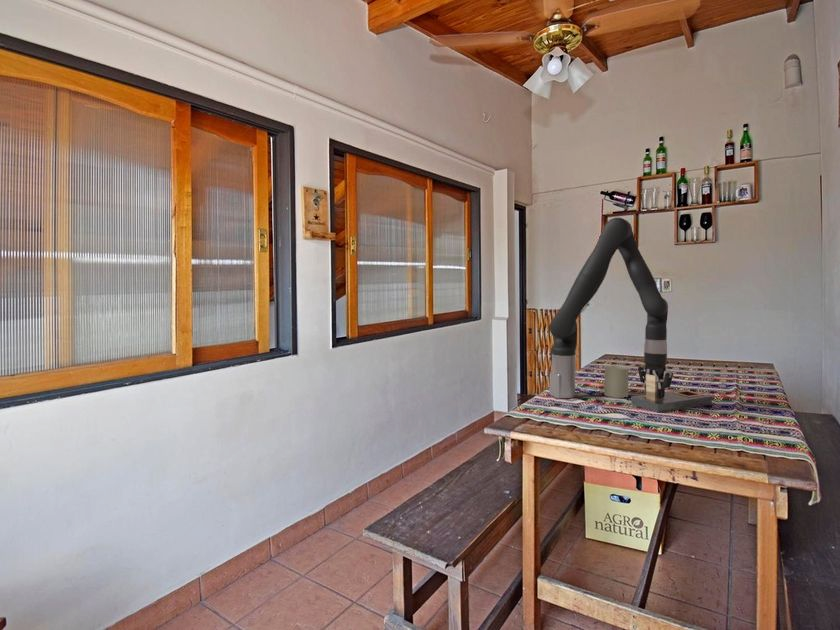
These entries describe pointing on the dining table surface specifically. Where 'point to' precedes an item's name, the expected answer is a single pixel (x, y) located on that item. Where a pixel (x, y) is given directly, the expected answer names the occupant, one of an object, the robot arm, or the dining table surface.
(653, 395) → the peg
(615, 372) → the can
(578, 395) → the dining table surface
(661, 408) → the grey slotted board
